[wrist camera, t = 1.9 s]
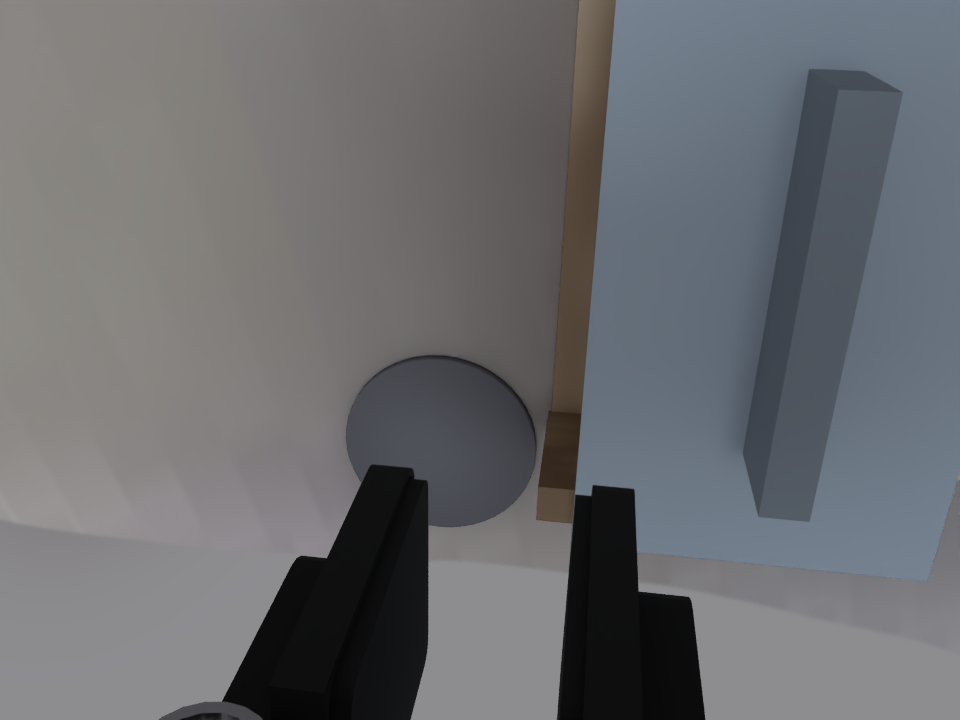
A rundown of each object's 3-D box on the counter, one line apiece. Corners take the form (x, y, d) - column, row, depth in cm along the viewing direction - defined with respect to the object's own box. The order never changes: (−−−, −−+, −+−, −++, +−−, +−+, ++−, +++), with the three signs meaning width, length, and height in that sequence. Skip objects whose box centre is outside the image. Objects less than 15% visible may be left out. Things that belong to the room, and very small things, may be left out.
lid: (1110, -105, 19) (1219, -114, 16) (918, 563, 26) (964, 658, 23) (625, -115, 20) (627, -126, 17) (572, 529, 27) (565, 614, 24)
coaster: (541, 364, 32) (540, 368, 31) (531, 529, 35) (530, 535, 34) (345, 348, 32) (342, 352, 32) (351, 511, 35) (349, 517, 35)
